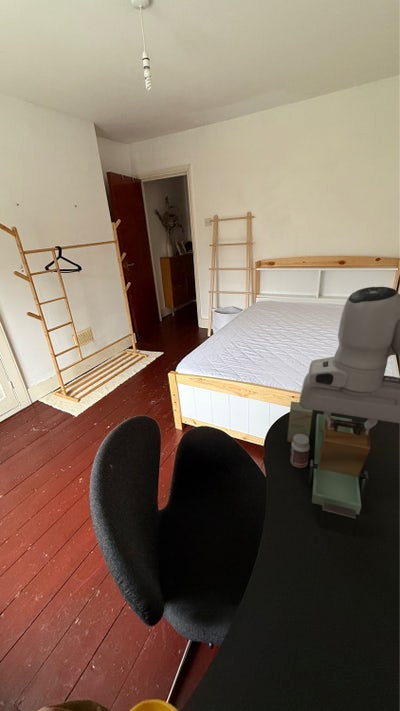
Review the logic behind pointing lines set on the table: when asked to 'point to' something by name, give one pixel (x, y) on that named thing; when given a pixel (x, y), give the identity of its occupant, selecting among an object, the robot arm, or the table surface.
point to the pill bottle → (300, 451)
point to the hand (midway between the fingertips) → (346, 429)
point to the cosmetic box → (299, 421)
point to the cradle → (339, 510)
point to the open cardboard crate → (344, 448)
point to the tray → (334, 477)
